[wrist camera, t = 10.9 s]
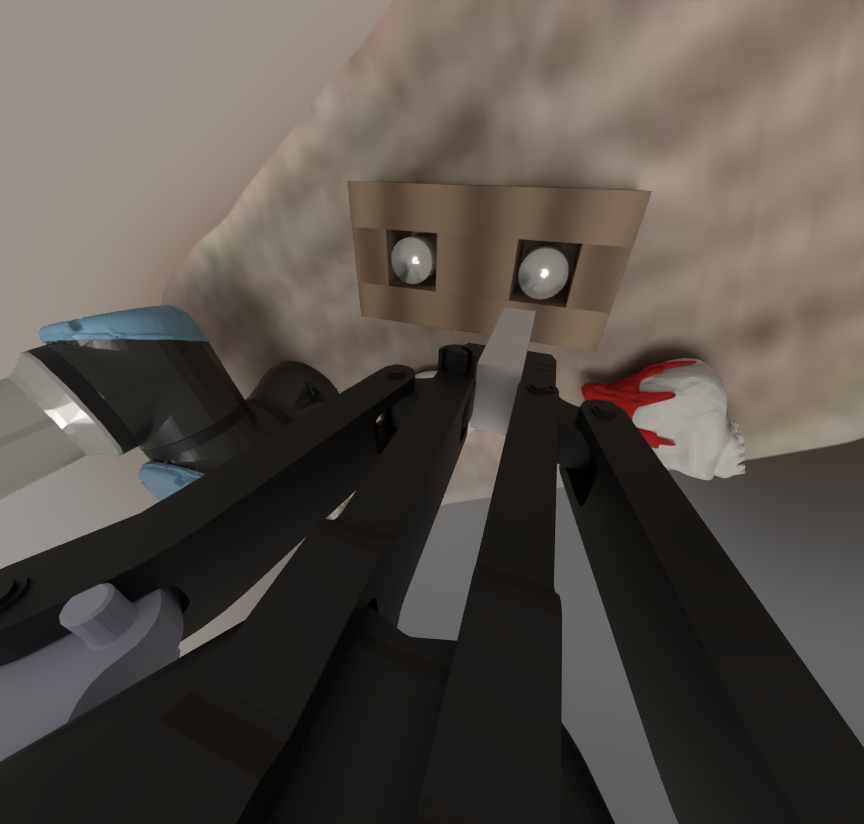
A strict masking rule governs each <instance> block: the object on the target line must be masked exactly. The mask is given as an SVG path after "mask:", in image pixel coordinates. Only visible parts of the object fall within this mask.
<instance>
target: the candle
mask: <svg viewBox="0 0 864 824" xmlns="http://www.w3.org/2000/svg"><path fill="white" fill-rule="evenodd" d="M581 390H582V393H583V396H584V398H585V401H587V400H592V399H598V400H606V401H608V402H612V403H614V404H615V405H617V406H619V407H621V408H622V409H623V410H624V411H625V412H626V413H627V414H628V416H629V417H630V418H631V420H632V421H633V423H634V424H635V425H636V427H637V428H638V430H639V431H640V433H641V434H642V435H643V437H644V438H645V440H646V441H647V442H648V444H649V445H650V447H651V448H652V449H653V451H654V452H655V454H656V455H657V457H658V458H659V459H660V461H661V462H662V464H663V465H664V466H665V467H669V468H672V469H675V470H678V471H680V472H683V473H684V474H686V475H688V476H693V477H696V478H699V479H703V480H711V479H712V478H713V475H716V476H719V477H721V478H728V477H730V476H732V475H738V474H744V473H745V471H744V469H745V465H743V464H739V463H740V462H742V461H744V460H745V455H744V454H741V453H743V452H745V450H746V448H745V446H744V445H740V443H742V442H744V441H745V439H744V437H743V435H742V434H735V433H737V432H738V429H737V427H739V425H738V423H737V422H736V421H732V420H731V421H730V420H729V419H728V418H727V417H726V410H727V394H726V391H725V388H724V385H723V382H722V380H721V379H720V377H719V376H718V374H717V373H716V371H715V370H714V369H713V368H712V367H711V366H709V365H708V364H707V363H705V362H703V361H701V360H698V359H691V358H681V359H675V360H669V361H666V362H662V363H656V364H652V365H649V366H647V367H645V368H644V369H643V370H641V371H640V372H638V373H637V374H632V375H629V376H627V377H625V378H624V379H622V380H621V381H619V382H618V383H616V384H612V385H607V384H606V383H597V384H591V383H586V384H584V385H583V386H582V388H581Z"/></svg>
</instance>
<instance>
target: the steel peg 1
mask: <svg viewBox="0 0 864 824" xmlns="http://www.w3.org/2000/svg"><path fill="white" fill-rule="evenodd" d="M437 234H438V233H429V232H423V233H420V234H417V235H414V236H410V237H407V238H404V239H402V240H400V241H399V242H398V243H397V244H396V245H395V247H394V249H393V251H392V257H391V260H392V266H393V269H394V271H395V273H396V275H397V276H398V277H399V278H400V279H401V280H402V281H404V282H406V283H409V284H417V283H420V282H422V281H423V280H425V279H427V278H428V277H430V276H431V275H433V274H434V273H436V266H437Z"/></svg>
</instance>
